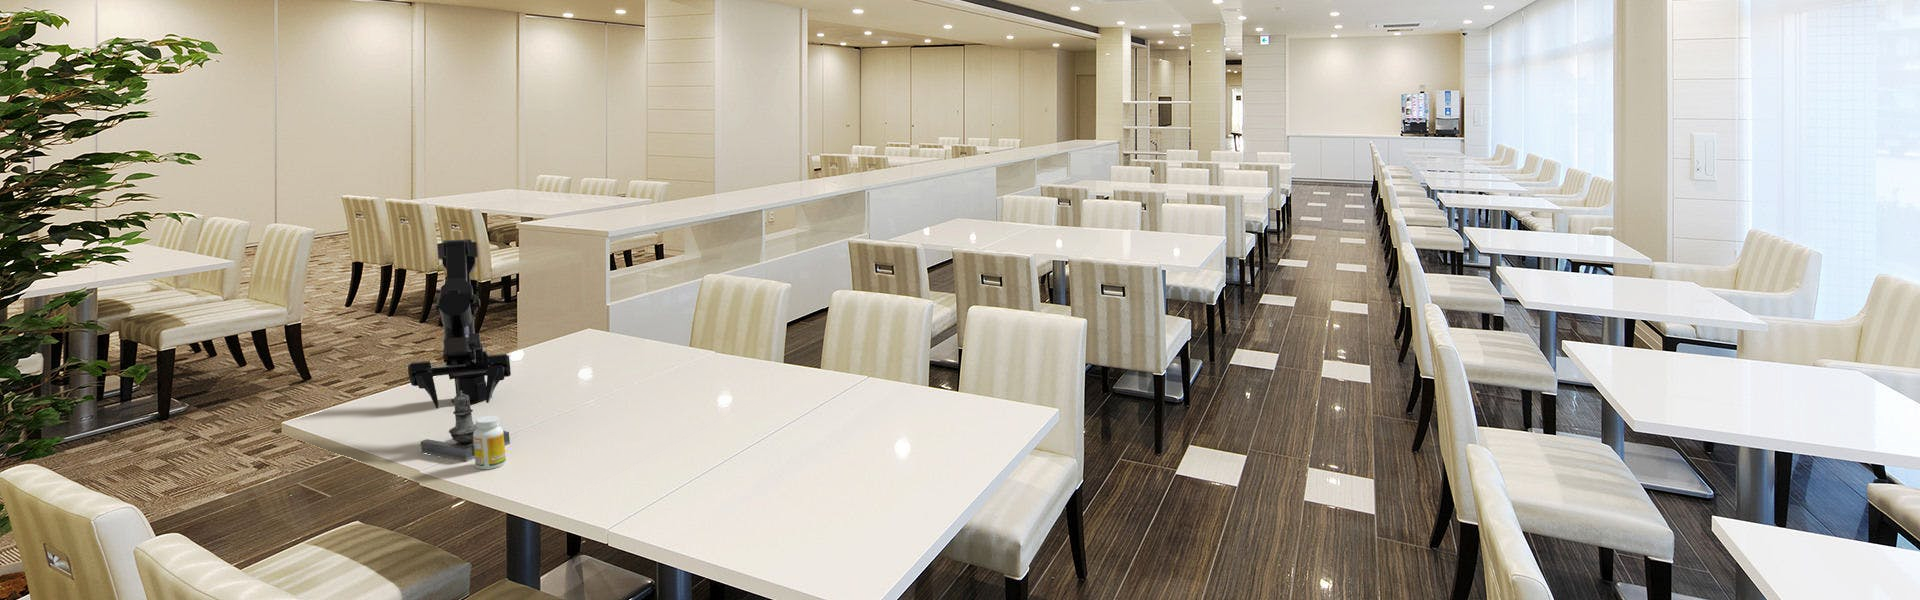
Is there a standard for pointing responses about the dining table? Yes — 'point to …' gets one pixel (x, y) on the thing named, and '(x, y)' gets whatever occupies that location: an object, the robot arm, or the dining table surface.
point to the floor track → (452, 449)
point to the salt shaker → (463, 421)
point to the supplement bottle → (489, 443)
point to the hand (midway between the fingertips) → (462, 404)
